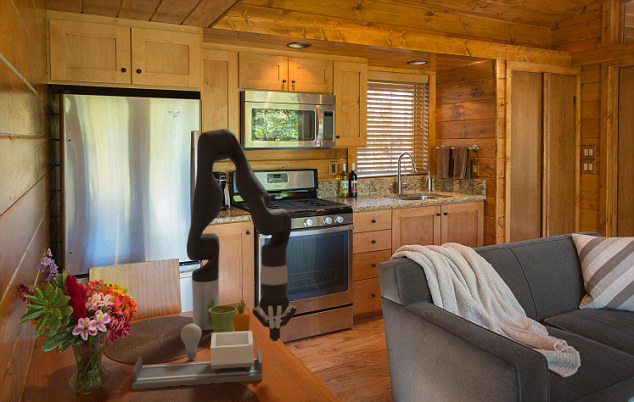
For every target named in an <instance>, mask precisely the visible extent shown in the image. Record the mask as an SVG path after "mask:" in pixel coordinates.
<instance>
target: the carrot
mask: <svg viewBox="0 0 634 402" xmlns="http://www.w3.org/2000/svg"><path fill="white" fill-rule="evenodd" d="M246 304H247V303H246V302H245V300H244V299H240V303H238V304H235V303H234V304H233V305H232V306H235V307H236V308H237V310H238V311H237V312H235V314H234V323H233V331H234V332H240V331H250V330H249V329H250V313H248V312H247V311H246V310H245V307H246Z"/></svg>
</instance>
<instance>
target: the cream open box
mask: <svg viewBox="0 0 634 402" xmlns="http://www.w3.org/2000/svg"><path fill="white" fill-rule="evenodd" d="M253 337H254V336H253V331H252V330H249V331H240V332H235V331H233V332H222V333H214V332H212V333H211V339H210V360H211V369H214V372H215V373H216V374H219V373H220V372H221V368H232V367H244V371H246V372H248V371H250V370H251V366H254V358H255V355H254V353H255V351H254V350H255V349H254V339H253Z"/></svg>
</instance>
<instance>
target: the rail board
mask: <svg viewBox="0 0 634 402" xmlns="http://www.w3.org/2000/svg"><path fill="white" fill-rule="evenodd" d="M256 351H257V353H256V354H257V355H256V356H257V357H254V366H251V370H250V371H248V372H246V371H244V367H232V368H221V372H220V373H219V374H216V373H215V372H214V369H211V359H210V360H199V361H185V362H184V361H183V362H168V363H165V362H164V363H153V364H152V363H151V364H143V356H140V355H139V356H138V357H137V360H136V361H135V364H134V366H133V369H132V371H131V374H132V376H131V377H132V384H131V389H132V390H143V389H156V388H159V387H160V388H169V387H168V386H173V387H181V386H180V385H187V386H197V385H199V384H201V385H212V384H211V383H215V384H223V383H224V382H228V383H238V382H240V383H241V382H242V383H243V382H252V381H253V382H254V381H256V382H257V381H263V361H262V359H263V358H262V352H261V348H257V349H256ZM224 384H225V383H224Z"/></svg>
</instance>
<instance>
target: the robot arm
mask: <svg viewBox="0 0 634 402" xmlns="http://www.w3.org/2000/svg"><path fill="white" fill-rule="evenodd" d="M196 145H197V146H196V147H197V148H196V178H195V187H194V193H193V200H192V209H191V210H192V211H191V212H192V213H191V222H190V226H189V230H188V231H189V232H188V237H187V242H186V254H187V258H188V260H190V261H193V262H194V261H195V262H196V261H197V262H199V261H207V262H206V263H205V264H203V265H202V266H200V267H198V268H196V269H194V270H193V271H192V273H191V286H192V287H191V288H192V289H191V290H192V291H191V292H192V324H196V325H198V326H199V327H200V329H201V331H211V330H214V328H213V322H212V317H211V315H210V312H209V309H210V308H211V307H214V306H218V305H220V278H219V277H220V276H219V275H220V274H219V273H220V240H219V237H218V235H217V233H216V232H212V233H204V231H205V229H206V228H207V227H209V225H210V224H212V223H213V222H214V221H215V219H216V218H217V217H218V216H219V214H220V212H221V210H222V206H223V199H224V191H223V188H222V186H221V184H220V182H218V180H217V178H216V177H215V176H214V172H213V170H214V164H215V163H216V162H220V161H224V160H228V159H229V160H230V162H232V164H233V165H234V167H235V189H236V191H237V194H238V195H239V196H240V199H241V200H242V201H243V202H244V204H245V205H246V207H247V208H248V211H249V214H250V218H251V220H252V223H253V226H254V228H255V231H257V232H258V233H259V234H260V235H262V236H264V237H270V239H269V241H268V242H266V243H264V244H263V245H262V246H261V248H260V249H261V250H260V257H261V259H260V260H261V261H260V263H261V264H260V265H261V266H260V280H259V281H260V300H259V302H258V305H257V306H256V307H253V308H252V309H251V311H252V314H253V315H254V317H255V318H256V319H257V320H258V321H259V323H260V324H261V325H262V326H263V327H264V328H269V339H270V340H271V341H272V342H278V340H279V339H280V338H281V328H282V327H284V326H286V325H287V324H288V323H289V322H290V321H291V319H292V318H293V317H294V315H295V313H297V308H296V306H295V305H292V304H291V303H290V300H289V298H288V279H289V276H288V267H287V249H288V248H287V247H288V245H289V240H290V238H291V233H292V226H293V221H292V217H291V215H290V212H288V210H286V209H284V208H273V209H268V207H269V206H270V204H271V200H272V199H271V196H270V194H269V192H268V191H267V189H265V187H264V184H262V182H261V181H260V180H259V179H258V177H257V175H256V173H255V172H254V170H253V168H252V166H251V164H250V162H249V160H248V157H247V156H246V154H245V152H244V150H243V148H242V145H241V143H240V141H239V139H238V138H237V136H236V135H235V133H234V132H233V131H232V130H231V129H229V128H220V129H214V130H207V131H204V132H202V133H200V135H199V136H198V138H197V144H196ZM286 310H287V312H286V313H285V311H286ZM262 312H263V313H264V314H265V315H266V316H268V320H266V318H265V317H264V316H263V314H262ZM284 313H285V315H284ZM282 315H284V316H283V318H282ZM274 317H275V318H274ZM281 318H282V319H281ZM274 319H275V320H274Z"/></svg>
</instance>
